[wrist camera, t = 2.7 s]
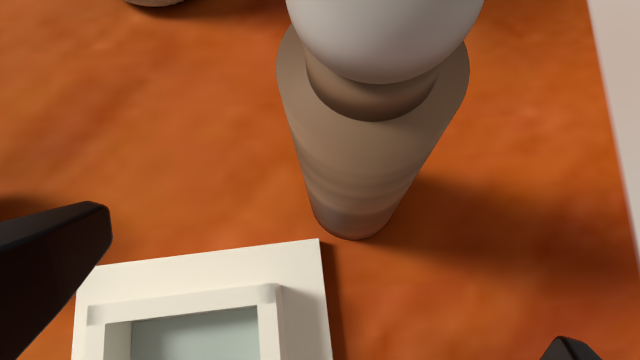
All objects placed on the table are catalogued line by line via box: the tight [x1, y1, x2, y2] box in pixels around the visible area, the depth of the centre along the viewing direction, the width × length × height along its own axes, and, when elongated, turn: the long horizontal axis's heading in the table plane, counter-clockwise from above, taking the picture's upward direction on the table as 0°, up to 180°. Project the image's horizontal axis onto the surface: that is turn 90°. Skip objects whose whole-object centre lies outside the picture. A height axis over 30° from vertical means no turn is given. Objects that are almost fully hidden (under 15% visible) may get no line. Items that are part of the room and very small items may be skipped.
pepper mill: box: [276, 0, 485, 240], centre depth 12 cm, size 4×4×16 cm
